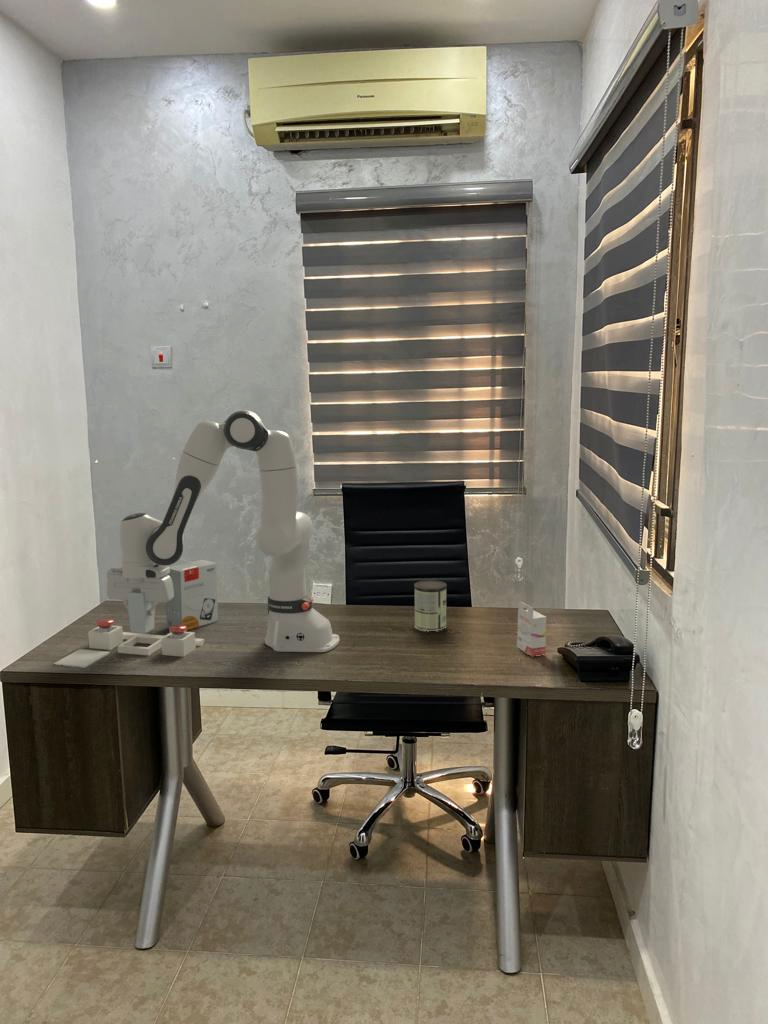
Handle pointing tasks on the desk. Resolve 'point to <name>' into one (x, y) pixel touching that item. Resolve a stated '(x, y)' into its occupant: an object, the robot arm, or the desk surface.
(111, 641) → the tower
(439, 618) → the coffee can
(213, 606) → the hard drive box
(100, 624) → the plunger
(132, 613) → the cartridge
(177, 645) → the tower
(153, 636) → the socket
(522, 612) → the ink cartridge box
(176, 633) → the plunger
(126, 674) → the desk surface
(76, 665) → the pad
